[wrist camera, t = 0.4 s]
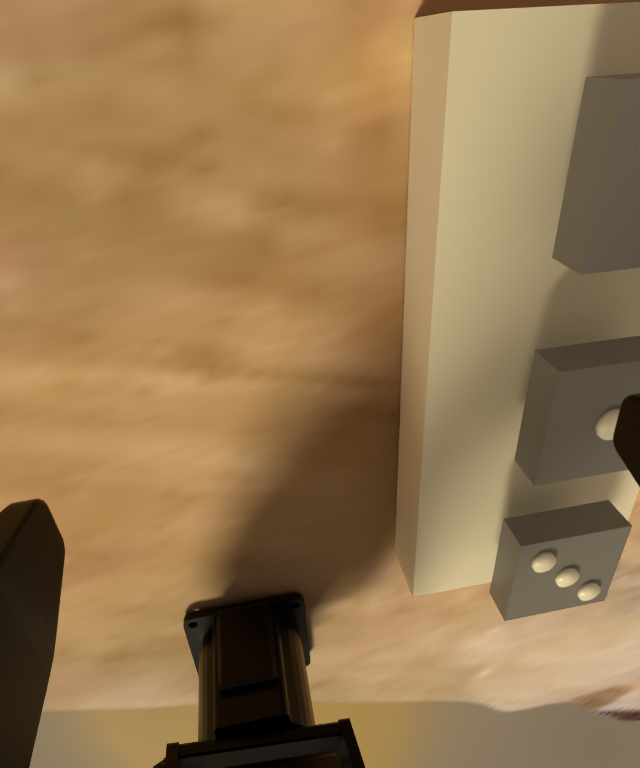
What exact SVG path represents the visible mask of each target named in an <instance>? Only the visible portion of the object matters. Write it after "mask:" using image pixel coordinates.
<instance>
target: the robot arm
mask: <svg viewBox="0 0 640 768" xmlns="http://www.w3.org/2000/svg"><path fill="white" fill-rule="evenodd" d="M613 443H614V447H615V449H616V451H617V453H618V455H619V456H620V458H621V459H622V461H623V462H624V464H625V466H626V467H627V469H628V470H629V472H630V473H631V475H632V476H633V478H634V479H635V481H636V482H637V484H638V486H639V487H640V393H636V394H631V395H628V396H626V397H625V398H624V400H623V401H622V403H621V406H620V410H619V414H618V418H617V422H616V426H615V430H614V434H613ZM64 559H65V547H64V541H63V538H62V536H61V534H60V531H59V529H58V527H57V525H56V523H55V520H54V518H53V516H52V514H51V512H50V509H49V507H48V505H47V504H46V503H45V502H44V501H43V500H41V499H33V500H27V501H21V502H16V503H12V504H10V505H9V506H7V507H6V508H5V509H4V510H2V511H1V512H0V768H29V766H30V761H31V757H32V752H33V748H34V743H35V739H36V735H37V730H38V726H39V721H40V717H41V712H42V708H43V704H44V699H45V695H46V690H47V686H48V681H49V677H50V672H51V667H52V662H53V657H54V649H55V642H56V633H57V624H58V615H59V605H60V596H61V587H62V577H63V568H64ZM184 630H185V633H186V636H187V640H188V643H189V646H190V649H191V653H192V656H193V659H194V663H195V666H196V669H197V672H198V676H199V712H198V713H199V715H198V717H199V718H198V719H199V720H198V742H192V743H185V744H179V742H176V743H169V744H167V749H166V758H164V760H163V761H161V762H160V763H158V764H157V765H155V766H154V767H153V768H365V766H364V762H363V759H362V757H361V753H360V750H359V747H358V744H357V741H356V738H355V735H354V731H353V728H352V725H351V722H350V719H349V718H347V719H339V720H338V722H333V723H326V724H319V725H315V721H314V714H313V709H312V702H311V696H310V690H309V684H308V678H307V671H306V666H308V665H309V664H310V653H309V643H308V634H307V624H306V615H305V605H304V599H303V596H302V595H301V594H298V593H294V594H288V595H283V596H278V597H272V598H267V599H262V600H256V601H251V602H246V603H240V604H235V605H230V606H224V607H219V608H214V609H208V610H203V611H198V612H192V613H189V614H187V615H186V616H185V617H184Z"/></svg>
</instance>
